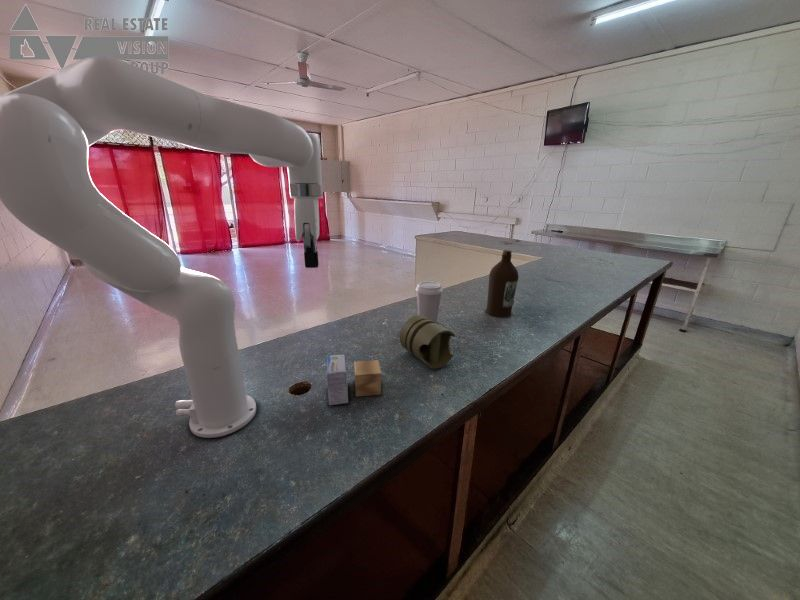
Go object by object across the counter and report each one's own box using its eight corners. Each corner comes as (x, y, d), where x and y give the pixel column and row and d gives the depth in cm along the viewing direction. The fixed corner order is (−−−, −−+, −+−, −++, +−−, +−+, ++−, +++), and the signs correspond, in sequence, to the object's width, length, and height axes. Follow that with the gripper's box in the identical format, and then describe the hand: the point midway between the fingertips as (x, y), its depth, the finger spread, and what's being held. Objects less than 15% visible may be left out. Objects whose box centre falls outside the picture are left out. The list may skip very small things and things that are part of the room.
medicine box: (348, 404, 72) (347, 371, 69) (328, 406, 72) (326, 373, 68) (346, 383, 80) (345, 353, 77) (328, 385, 79) (326, 355, 76)
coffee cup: (411, 327, 111) (413, 287, 106) (416, 317, 120) (418, 279, 114) (438, 331, 109) (441, 290, 104) (441, 320, 118) (444, 281, 112)
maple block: (355, 396, 75) (355, 375, 73) (354, 381, 80) (354, 361, 78) (380, 394, 76) (381, 373, 74) (378, 380, 81) (378, 359, 79)
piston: (423, 373, 85) (425, 336, 81) (399, 354, 94) (400, 319, 90) (454, 362, 90) (458, 326, 86) (428, 344, 100) (431, 311, 96)
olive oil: (479, 311, 127) (486, 249, 118) (496, 306, 133) (504, 247, 124) (501, 320, 119) (510, 255, 110) (517, 314, 125) (528, 252, 116)
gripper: (294, 190, 81) (300, 260, 88) (284, 192, 67) (292, 275, 74) (324, 191, 82) (328, 260, 89) (320, 193, 68) (325, 274, 75)
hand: (312, 266), depth 81 cm, fingers closed
